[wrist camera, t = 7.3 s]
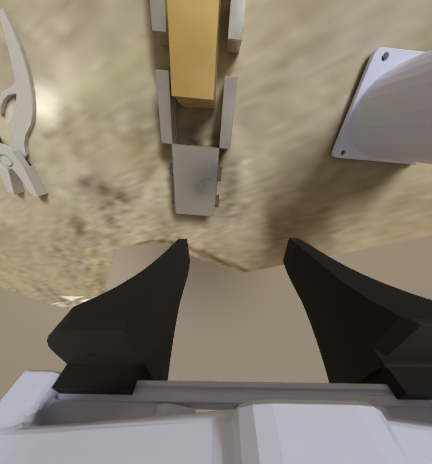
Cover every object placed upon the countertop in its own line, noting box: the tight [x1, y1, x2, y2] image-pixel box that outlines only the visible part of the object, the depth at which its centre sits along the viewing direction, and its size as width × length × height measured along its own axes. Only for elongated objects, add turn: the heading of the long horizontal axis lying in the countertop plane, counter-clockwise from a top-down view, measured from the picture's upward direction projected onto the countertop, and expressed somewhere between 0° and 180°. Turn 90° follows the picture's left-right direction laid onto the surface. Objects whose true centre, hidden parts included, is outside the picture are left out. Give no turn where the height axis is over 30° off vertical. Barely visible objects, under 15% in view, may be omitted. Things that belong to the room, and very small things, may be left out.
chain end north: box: [155, 69, 238, 216], centre depth 16 cm, size 6×12×2 cm, turn 176°
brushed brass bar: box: [167, 0, 221, 109], centre depth 12 cm, size 3×6×4 cm, turn 175°
